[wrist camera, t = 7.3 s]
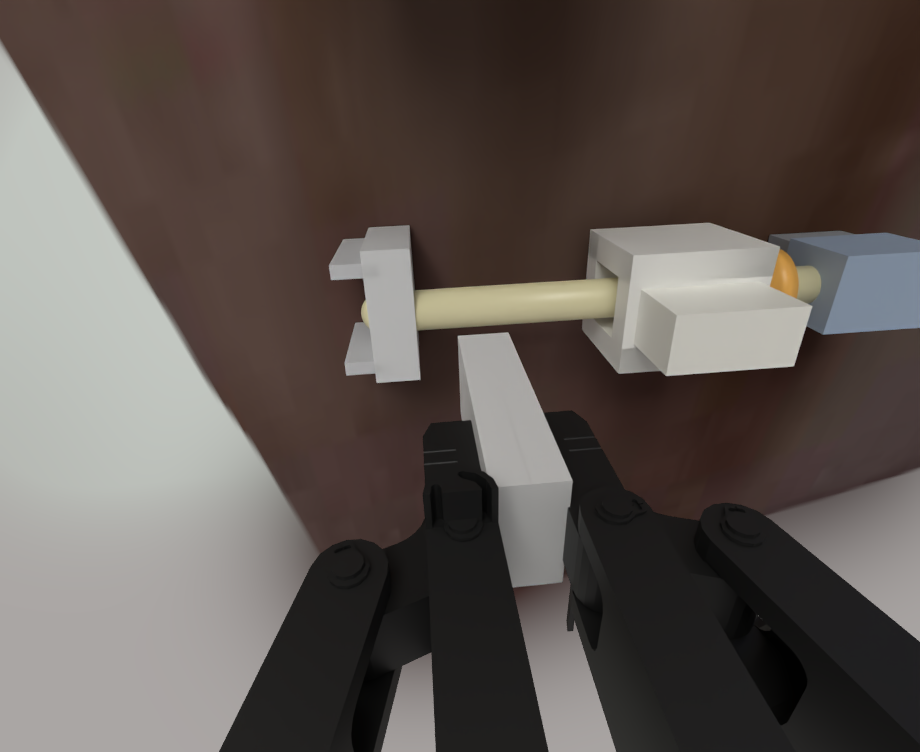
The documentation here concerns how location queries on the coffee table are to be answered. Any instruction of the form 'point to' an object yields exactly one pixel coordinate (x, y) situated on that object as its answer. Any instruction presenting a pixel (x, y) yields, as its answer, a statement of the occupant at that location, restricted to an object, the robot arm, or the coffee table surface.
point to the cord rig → (614, 293)
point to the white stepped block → (692, 301)
